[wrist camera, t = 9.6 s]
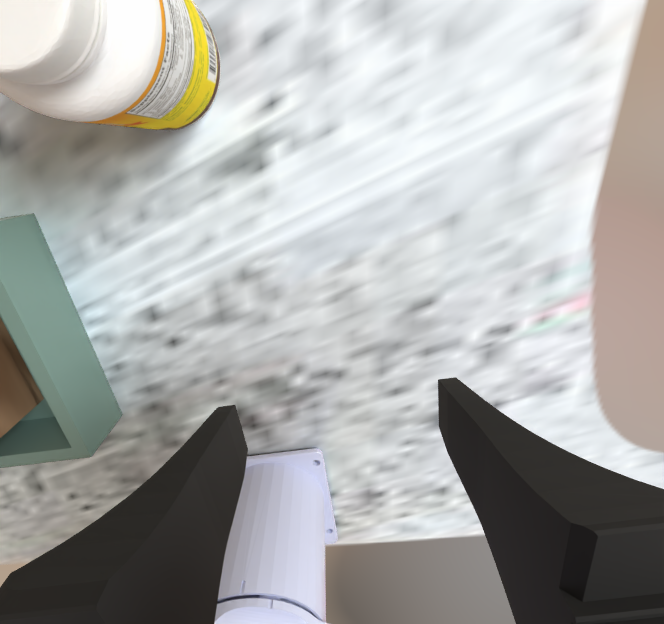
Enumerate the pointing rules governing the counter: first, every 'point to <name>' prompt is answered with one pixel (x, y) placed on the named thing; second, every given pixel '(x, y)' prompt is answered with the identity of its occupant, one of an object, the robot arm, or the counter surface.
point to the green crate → (50, 355)
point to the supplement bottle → (110, 61)
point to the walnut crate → (14, 384)
